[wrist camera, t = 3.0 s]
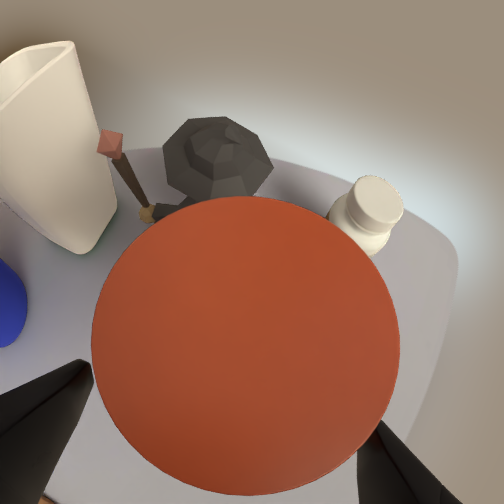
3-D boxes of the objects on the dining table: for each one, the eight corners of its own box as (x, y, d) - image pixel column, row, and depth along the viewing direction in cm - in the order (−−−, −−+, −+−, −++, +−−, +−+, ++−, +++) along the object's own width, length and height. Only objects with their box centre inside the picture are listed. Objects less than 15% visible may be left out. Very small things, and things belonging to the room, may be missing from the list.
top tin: (304, 405, 13) (427, 428, 4) (187, 432, 12) (132, 512, 3) (275, 296, 16) (343, 181, 7) (162, 318, 15) (84, 222, 6)
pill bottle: (300, 238, 23) (332, 176, 16) (343, 222, 24) (383, 163, 17) (326, 287, 21) (373, 240, 14) (369, 267, 22) (422, 219, 15)
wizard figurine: (224, 190, 24) (231, 62, 13) (268, 238, 22) (307, 113, 12) (138, 244, 21) (83, 125, 10) (178, 302, 20) (132, 204, 9)
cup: (136, 199, 23) (87, 37, 9) (92, 274, 20) (-24, 134, 6) (77, 178, 23) (19, 47, 10) (35, 242, 20) (-62, 125, 7)
